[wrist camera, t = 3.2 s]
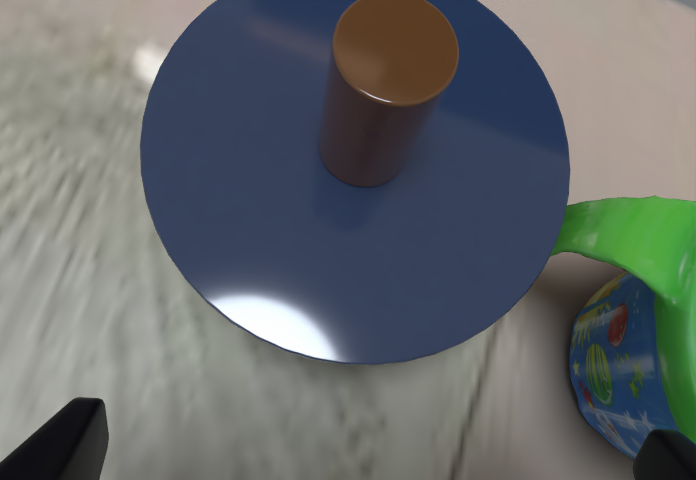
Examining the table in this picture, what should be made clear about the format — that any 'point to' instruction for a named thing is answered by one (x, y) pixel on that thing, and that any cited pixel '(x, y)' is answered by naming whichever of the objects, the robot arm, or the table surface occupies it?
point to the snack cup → (636, 318)
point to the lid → (355, 172)
